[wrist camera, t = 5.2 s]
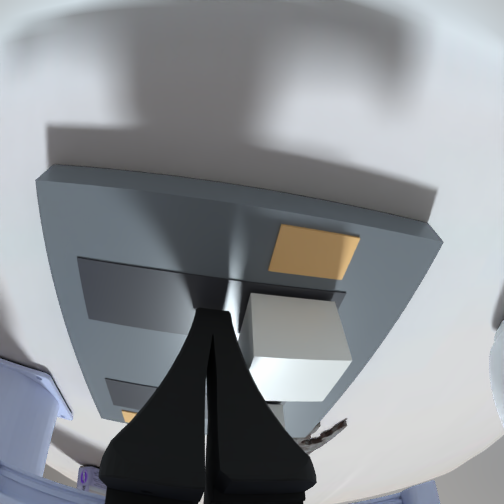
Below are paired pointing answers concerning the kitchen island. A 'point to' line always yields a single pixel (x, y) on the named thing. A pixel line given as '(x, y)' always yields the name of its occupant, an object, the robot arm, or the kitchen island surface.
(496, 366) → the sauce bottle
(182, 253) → the panel
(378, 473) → the kitchen island surface
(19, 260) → the kitchen island surface
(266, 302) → the white rectangular block
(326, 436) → the pliers
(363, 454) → the kitchen island surface
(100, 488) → the cake pan box
